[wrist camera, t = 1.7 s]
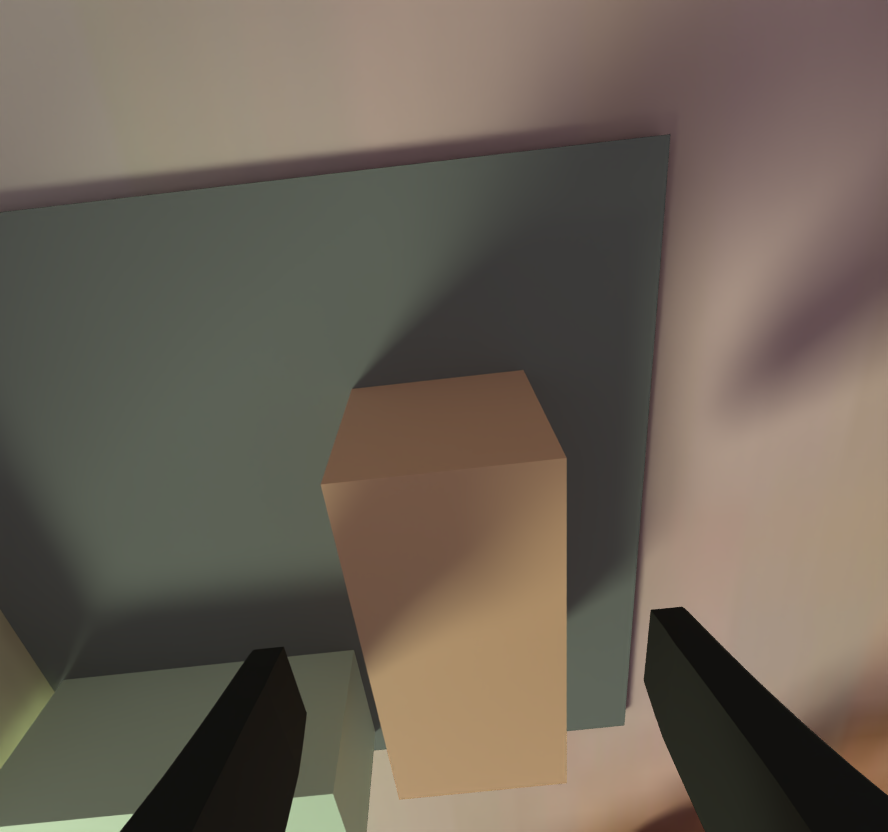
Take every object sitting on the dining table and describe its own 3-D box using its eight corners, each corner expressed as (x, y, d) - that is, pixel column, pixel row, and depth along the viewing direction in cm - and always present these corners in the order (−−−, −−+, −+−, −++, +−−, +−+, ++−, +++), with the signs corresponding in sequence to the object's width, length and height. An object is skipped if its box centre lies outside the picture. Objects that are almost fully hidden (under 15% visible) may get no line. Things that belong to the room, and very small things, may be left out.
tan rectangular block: (405, 655, 16) (399, 799, 12) (351, 388, 12) (320, 484, 8) (534, 642, 16) (566, 783, 12) (523, 369, 12) (566, 458, 8)
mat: (-103, 787, 18) (-113, 799, 18) (-599, 282, 11) (-635, 286, 10) (620, 714, 18) (624, 725, 18) (661, 135, 10) (669, 134, 10)
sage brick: (113, 758, 18) (33, 911, 14) (63, 679, 16) (-43, 831, 12) (374, 731, 17) (362, 879, 14) (353, 649, 16) (333, 793, 12)
